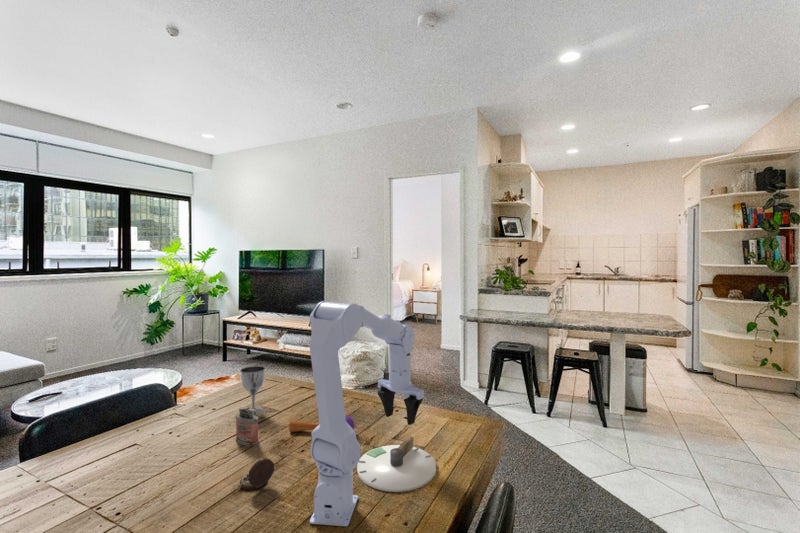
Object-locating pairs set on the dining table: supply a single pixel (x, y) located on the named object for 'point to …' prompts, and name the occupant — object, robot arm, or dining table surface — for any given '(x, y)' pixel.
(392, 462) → the tuning pointer
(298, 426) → the kendama
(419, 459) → the gauge dial
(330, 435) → the robot arm
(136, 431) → the dining table surface
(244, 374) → the wine glass
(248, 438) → the lighter
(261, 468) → the compass
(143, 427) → the dining table surface
